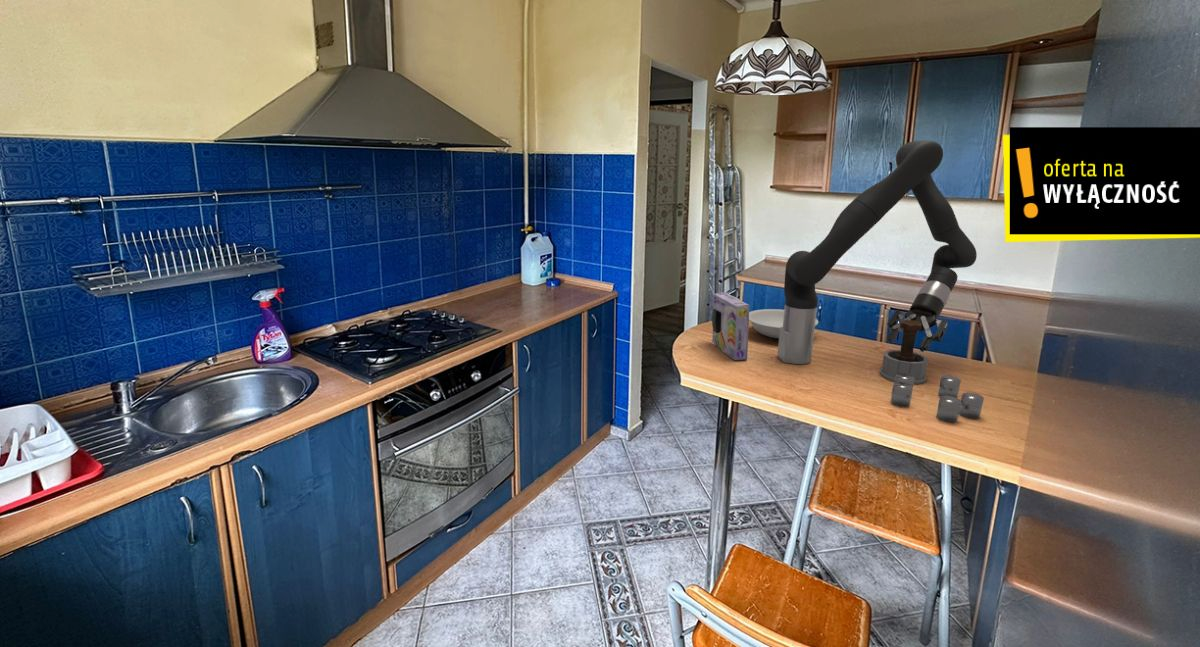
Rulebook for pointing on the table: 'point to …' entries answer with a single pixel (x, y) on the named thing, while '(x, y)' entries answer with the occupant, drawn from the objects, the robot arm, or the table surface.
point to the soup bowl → (768, 321)
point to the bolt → (908, 340)
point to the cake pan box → (730, 325)
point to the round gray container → (904, 367)
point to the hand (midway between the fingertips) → (905, 346)
